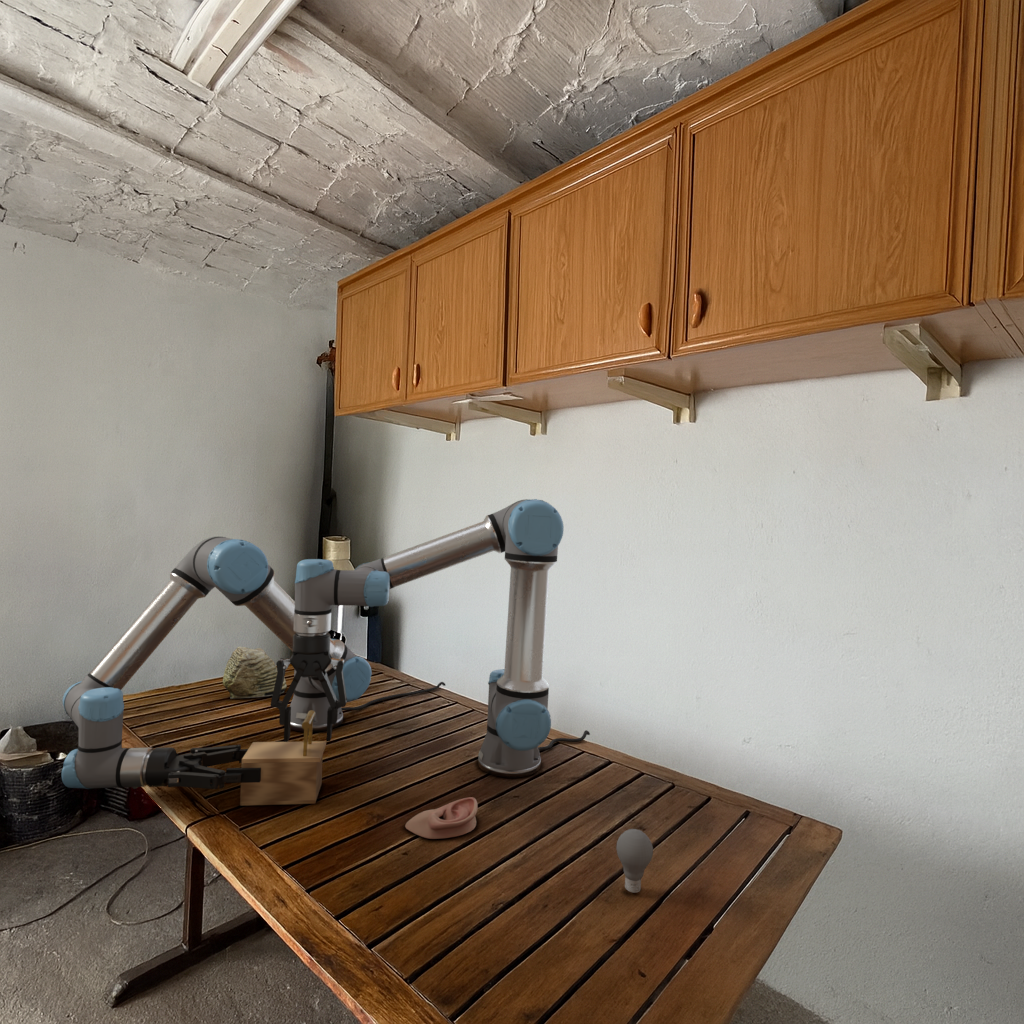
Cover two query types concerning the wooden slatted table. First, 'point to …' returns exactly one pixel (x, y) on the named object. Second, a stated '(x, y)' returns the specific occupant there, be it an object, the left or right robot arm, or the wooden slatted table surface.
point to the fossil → (250, 674)
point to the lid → (288, 748)
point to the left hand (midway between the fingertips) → (265, 764)
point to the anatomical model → (445, 820)
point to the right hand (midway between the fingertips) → (308, 739)
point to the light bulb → (634, 857)
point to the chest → (283, 784)
